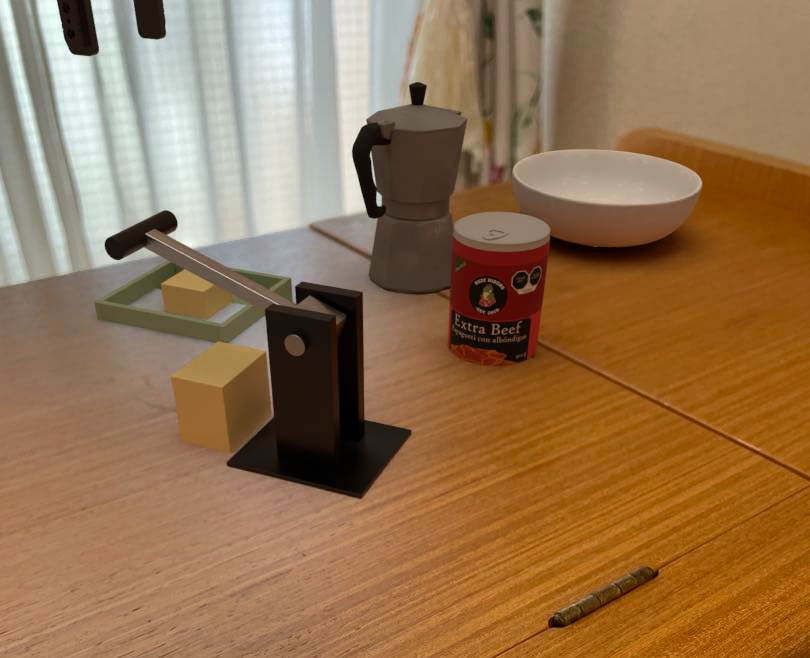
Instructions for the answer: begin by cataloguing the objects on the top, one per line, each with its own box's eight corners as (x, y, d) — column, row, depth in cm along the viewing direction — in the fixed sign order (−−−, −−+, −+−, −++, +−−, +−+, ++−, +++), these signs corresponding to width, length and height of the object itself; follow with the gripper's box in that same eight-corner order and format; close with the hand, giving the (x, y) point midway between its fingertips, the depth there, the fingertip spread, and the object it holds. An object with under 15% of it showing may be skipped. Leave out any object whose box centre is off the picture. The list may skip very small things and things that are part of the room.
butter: (182, 452, 62) (170, 376, 58) (226, 413, 66) (217, 340, 63) (231, 464, 61) (222, 387, 57) (273, 424, 65) (266, 350, 62)
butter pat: (165, 315, 80) (160, 283, 78) (192, 297, 83) (188, 266, 81) (207, 323, 78) (203, 291, 76) (233, 305, 82) (230, 274, 80)
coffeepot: (416, 250, 96) (420, 66, 85) (487, 270, 91) (502, 79, 80) (321, 290, 86) (312, 89, 75) (395, 316, 82) (397, 105, 71)
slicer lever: (102, 260, 55) (105, 226, 53) (157, 232, 59) (161, 199, 58) (309, 372, 54) (319, 340, 52) (349, 334, 58) (359, 304, 57)
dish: (99, 328, 78) (93, 301, 77) (175, 281, 87) (172, 257, 86) (227, 354, 75) (223, 326, 73) (293, 303, 84) (291, 277, 82)
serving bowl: (472, 239, 99) (476, 175, 95) (562, 197, 112) (569, 139, 108) (641, 283, 89) (654, 214, 85) (717, 231, 102) (732, 170, 98)
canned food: (436, 367, 73) (442, 236, 66) (460, 330, 79) (467, 206, 73) (526, 381, 71) (541, 248, 65) (543, 342, 78) (558, 216, 71)
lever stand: (228, 476, 60) (206, 313, 52) (289, 416, 66) (278, 264, 59) (361, 510, 57) (358, 342, 50) (411, 443, 63) (415, 287, 56)
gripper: (96, -226, 63) (134, 30, 73) (-53, -247, 53) (16, 56, 62) (184, -228, 61) (212, 37, 71) (48, -249, 50) (102, 65, 60)
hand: (120, 46), depth 67 cm, fingers open, 8 cm apart
